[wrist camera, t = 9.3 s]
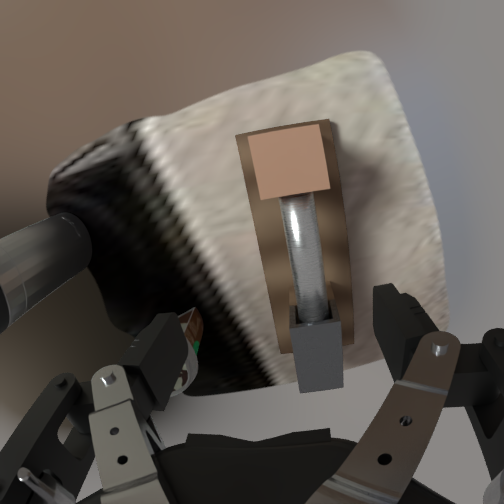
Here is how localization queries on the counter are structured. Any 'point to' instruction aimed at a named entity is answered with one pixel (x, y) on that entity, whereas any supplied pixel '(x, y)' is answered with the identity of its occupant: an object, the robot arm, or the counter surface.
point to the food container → (189, 348)
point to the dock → (276, 245)
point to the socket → (289, 161)
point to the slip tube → (305, 256)
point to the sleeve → (317, 351)
